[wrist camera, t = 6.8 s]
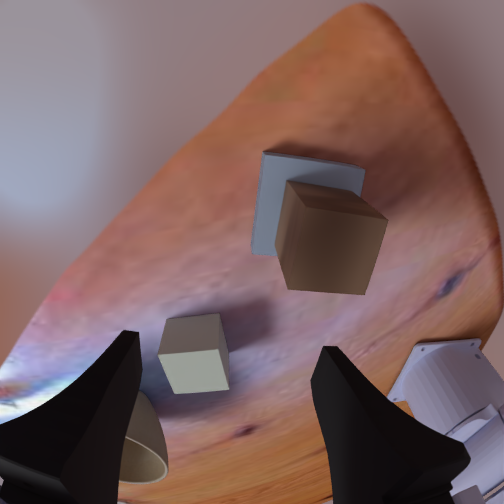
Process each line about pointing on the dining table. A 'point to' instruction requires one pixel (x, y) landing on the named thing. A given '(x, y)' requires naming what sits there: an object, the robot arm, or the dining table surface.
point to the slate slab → (299, 170)
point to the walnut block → (327, 239)
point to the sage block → (195, 354)
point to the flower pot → (144, 446)
